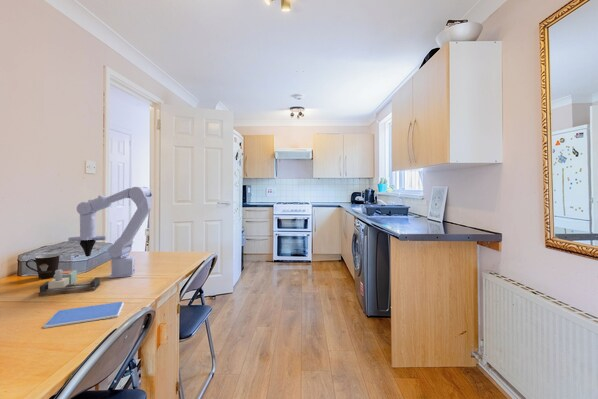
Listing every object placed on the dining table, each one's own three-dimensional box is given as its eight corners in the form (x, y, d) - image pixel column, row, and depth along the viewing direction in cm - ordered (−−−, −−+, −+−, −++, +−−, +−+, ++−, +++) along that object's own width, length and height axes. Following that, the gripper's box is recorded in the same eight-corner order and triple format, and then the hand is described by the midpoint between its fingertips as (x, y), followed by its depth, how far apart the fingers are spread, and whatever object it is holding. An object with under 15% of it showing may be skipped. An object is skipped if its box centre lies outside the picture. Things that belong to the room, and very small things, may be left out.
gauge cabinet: (76, 281, 125) (76, 270, 125) (71, 285, 120) (71, 274, 120) (60, 282, 123) (59, 271, 123) (53, 287, 118) (53, 275, 118)
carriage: (69, 283, 117) (68, 268, 116) (63, 287, 112) (63, 271, 112) (54, 284, 115) (53, 269, 115) (48, 289, 110) (47, 272, 110)
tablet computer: (41, 330, 83) (41, 326, 83) (57, 313, 95) (57, 309, 95) (118, 319, 91) (118, 315, 91) (124, 304, 103) (124, 300, 103)
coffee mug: (65, 274, 135) (64, 254, 134) (47, 280, 126) (46, 258, 126) (43, 273, 136) (42, 253, 136) (24, 279, 127) (23, 257, 127)
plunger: (72, 280, 124) (71, 270, 124) (68, 282, 121) (68, 272, 120) (62, 281, 123) (62, 271, 122) (58, 283, 119) (58, 273, 119)
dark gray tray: (100, 284, 122) (100, 276, 122) (94, 290, 114) (94, 282, 114) (48, 289, 115) (48, 280, 115) (38, 296, 108) (38, 287, 108)
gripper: (65, 229, 126) (65, 259, 127) (103, 228, 132) (103, 256, 132) (71, 227, 133) (72, 255, 134) (107, 226, 138) (107, 253, 139)
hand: (88, 256), depth 133 cm, fingers closed
